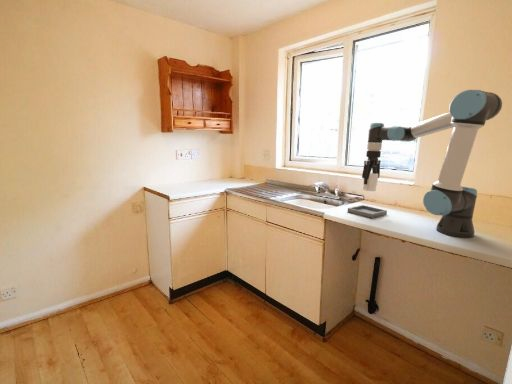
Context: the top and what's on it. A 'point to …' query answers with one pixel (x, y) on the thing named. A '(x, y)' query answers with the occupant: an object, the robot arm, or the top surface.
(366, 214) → the tray
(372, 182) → the white cup
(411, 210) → the top surface
